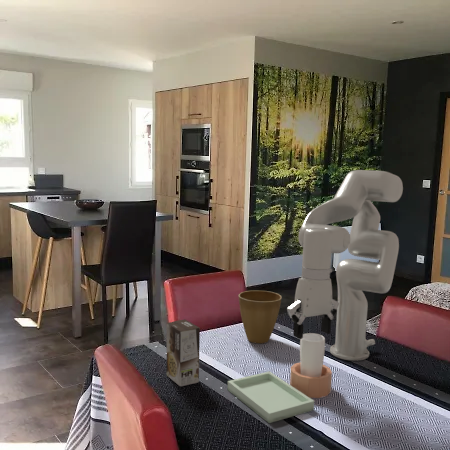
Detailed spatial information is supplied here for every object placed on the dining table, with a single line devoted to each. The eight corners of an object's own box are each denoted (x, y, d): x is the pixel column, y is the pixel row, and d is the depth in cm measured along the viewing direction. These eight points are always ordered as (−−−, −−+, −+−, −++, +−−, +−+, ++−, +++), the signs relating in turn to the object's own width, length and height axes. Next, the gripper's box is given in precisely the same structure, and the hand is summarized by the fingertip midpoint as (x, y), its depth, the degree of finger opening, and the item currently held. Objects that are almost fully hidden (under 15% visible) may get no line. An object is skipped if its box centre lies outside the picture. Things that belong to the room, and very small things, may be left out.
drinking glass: (322, 395, 140) (325, 342, 138) (297, 392, 142) (299, 340, 139) (322, 384, 147) (325, 334, 145) (298, 382, 148) (301, 331, 146)
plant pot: (281, 348, 173) (283, 302, 171) (237, 347, 173) (238, 301, 171) (277, 332, 188) (279, 290, 186) (237, 331, 188) (238, 289, 186)
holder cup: (312, 377, 152) (313, 359, 151) (338, 392, 142) (339, 373, 141) (282, 384, 146) (283, 366, 145) (307, 401, 137) (308, 381, 136)
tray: (269, 379, 149) (269, 371, 149) (313, 410, 132) (314, 400, 132) (227, 389, 142) (227, 381, 142) (268, 423, 125) (269, 413, 125)
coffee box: (199, 382, 146) (200, 327, 144) (179, 387, 143) (180, 331, 141) (185, 370, 154) (185, 318, 152) (165, 375, 151) (165, 321, 148)
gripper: (330, 268, 147) (327, 326, 149) (281, 273, 138) (278, 335, 140) (349, 274, 140) (345, 334, 143) (299, 279, 132) (295, 343, 134)
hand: (312, 334), depth 141 cm, fingers open, 9 cm apart
